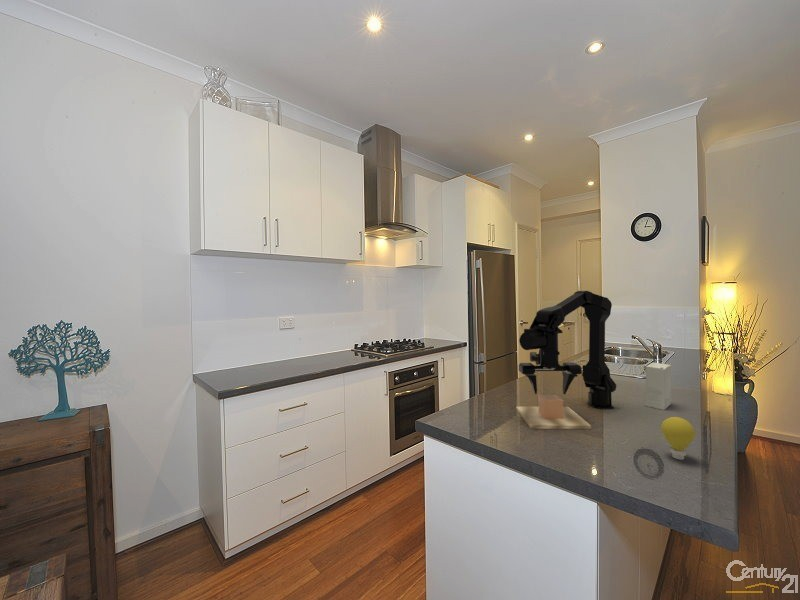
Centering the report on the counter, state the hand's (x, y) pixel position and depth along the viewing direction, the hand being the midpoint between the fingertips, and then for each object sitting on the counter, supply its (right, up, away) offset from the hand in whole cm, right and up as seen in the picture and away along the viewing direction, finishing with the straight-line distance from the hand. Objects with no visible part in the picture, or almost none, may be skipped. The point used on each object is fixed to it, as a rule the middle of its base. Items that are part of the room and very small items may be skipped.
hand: (549, 394), depth 116 cm
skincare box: (+43, -7, +9) cm, 45 cm away
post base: (0, -8, 0) cm, 8 cm away
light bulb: (+20, -8, -29) cm, 36 cm away
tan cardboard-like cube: (0, -7, 0) cm, 7 cm away
